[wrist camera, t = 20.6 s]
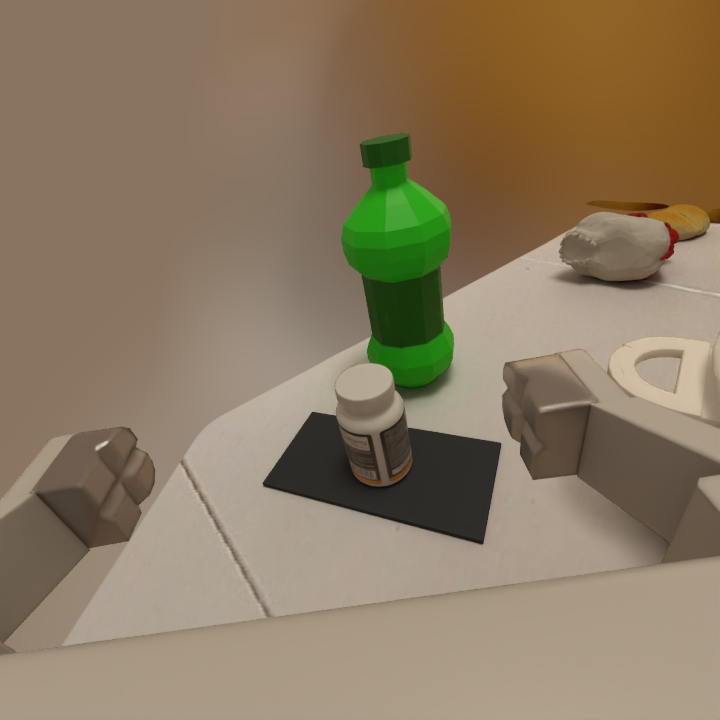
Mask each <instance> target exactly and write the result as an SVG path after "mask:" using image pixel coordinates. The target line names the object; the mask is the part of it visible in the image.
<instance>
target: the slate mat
mask: <svg viewBox="0 0 720 720" xmlns="http://www.w3.org/2000/svg"><path fill="white" fill-rule="evenodd" d="M408 434H409V440H410V445H411V452H412V464H411V467H410V470H409V471H408V473H407V474H406V475H405V476H404V477H403V478H402V479H401V480H399V481H398V482H396V483H394V484H392V485H388V486H381V487H376V486H370V485H367V484H365V483H363V482H361V481H360V480H359V479H357V478H356V476H355V475H354V473H353V471H352V469H351V466H350V462H349V459H348V455H347V452H346V448H345V445H344V441H343V438H342V434H341V431H340V427H339V424H338V421H337V418H336V416H335V415H328V414H322V413H316V412H312V413H311V414H310V416H309V417H308V419H307V420H306V422H305V423H304V424H303V426H302V427H301V429H300V430H299V432H298V433H297V435H296V436H295V437H294V439H293V440H292V442H291V443H290V445H289V446H288V448H287V449H286V450H285V452H284V453H283V455H282V456H281V458H280V459H279V460H278V462H277V463H276V465H275V466H274V468H273V469H272V471H271V472H270V473H269V475H268V476H267V478H266V479H265V481H264V482H263V485H264V486H266V487H270V488H274V489H278V490H281V491H285V492H289V493H293V494H296V495H300V496H304V497H308V498H311V499H315V500H319V501H323V502H327V503H330V504H334V505H338V506H342V507H345V508H349V509H353V510H357V511H360V512H364V513H368V514H372V515H376V516H379V517H383V518H387V519H391V520H394V521H398V522H402V523H406V524H409V525H413V526H417V527H421V528H425V529H428V530H432V531H436V532H440V533H443V534H447V535H451V536H455V537H458V538H462V539H466V540H470V541H473V542H477V543H481V544H483V542H484V536H485V531H486V525H487V520H488V514H489V509H490V504H491V498H492V493H493V487H494V482H495V476H496V471H497V466H498V460H499V455H500V449H501V443H498V442H492V441H486V440H480V439H474V438H468V437H462V436H456V435H450V434H444V433H438V432H432V431H426V430H419V429H413V428H408Z"/></svg>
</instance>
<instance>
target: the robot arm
mask: <svg viewBox="0 0 720 720" xmlns="http://www.w3.org/2000/svg"><path fill="white" fill-rule="evenodd" d="M503 380H504V382H505V383H506V385H507V387H508V389H507V390H506V391H505V393H504V394H503V395H502V408H503V413H504V419H505V423H506V425H507V428H508V431H509V433H510V435H511V437H512V438H513V439H514V440H516V441H518V442H519V443H521V446H520V455H521V457H522V459H523V461H524V463H525V465H526V467H527V469H528V471H529V473H530V475H531V477H532V479H533V480H537V479H545V478H553V477H561V476H569V475H577V474H578V475H577V477H579V478H580V479H581V480H583V481H584V482H586V483H587V484H588V485H590V486H591V487H592V488H594V489H595V490H597V491H598V492H599V493H601V494H602V495H604V496H605V497H606V498H608V499H609V500H611V501H612V502H613V503H615V504H616V505H618V506H619V507H620V508H622V509H623V510H625V511H626V512H627V513H629V514H630V515H631V516H633V517H634V518H636V519H637V520H638V521H640V522H641V523H643V524H644V525H645V526H647V527H648V528H650V529H651V530H652V531H654V532H655V533H657V534H658V535H659V536H661V537H662V538H664V539H665V540H666V541H668V542H669V543H670V545H669V547H668V549H667V552H666V554H665V556H664V559H663V561H662V563H661V564H656V565H649V566H642V567H635V568H627V569H620V570H613V571H605V572H598V573H591V574H584V575H576V576H569V577H562V578H555V579H547V580H540V581H533V582H525V583H518V584H511V585H504V586H496V587H489V588H482V589H475V590H467V591H460V592H453V593H446V594H438V595H431V596H424V597H416V598H409V599H402V600H395V601H387V602H380V603H373V604H366V605H358V606H351V607H344V608H337V609H329V610H322V611H315V612H308V613H300V614H293V615H286V616H279V617H271V618H264V619H257V620H250V621H243V622H235V623H228V624H221V625H214V626H206V627H199V628H192V629H185V630H178V631H170V632H163V633H156V634H149V635H141V636H134V637H127V638H119V639H112V640H105V641H98V642H90V643H83V644H76V645H68V646H61V647H54V648H47V649H40V650H32V651H25V652H16V651H15V650H13V649H12V648H10V647H9V646H7V645H5V644H4V642H5V641H6V640H7V639H8V638H9V637H10V636H11V635H12V633H13V632H14V631H15V630H16V629H17V628H18V627H19V626H20V625H21V624H22V623H23V622H24V620H26V618H27V617H28V616H29V615H30V614H31V613H32V612H33V611H34V610H35V609H36V608H37V607H38V606H39V604H40V603H41V602H42V601H43V600H44V599H45V598H46V597H47V596H48V595H49V594H50V593H51V592H52V590H53V589H54V588H55V587H56V586H57V585H58V584H59V583H60V582H61V581H62V580H63V579H64V578H65V577H66V576H67V574H68V573H69V572H70V571H71V570H72V569H73V568H74V567H75V566H76V565H77V564H78V563H79V561H80V560H81V559H82V558H83V557H84V556H85V555H86V554H87V553H88V552H89V551H90V549H89V548H93V547H99V546H104V545H110V544H115V543H121V542H126V541H129V540H130V538H131V535H132V533H133V531H134V529H135V526H136V524H137V522H138V520H139V518H140V516H141V509H140V507H139V504H141V503H142V502H143V501H144V500H145V499H146V498H147V497H148V496H149V495H150V493H151V490H152V488H153V486H154V483H155V468H154V465H153V461H152V460H151V458H150V457H149V455H148V454H147V453H146V452H144V451H142V450H140V449H138V448H136V444H137V440H138V439H137V437H136V436H135V435H134V433H133V432H132V431H131V429H130V428H126V427H116V428H110V429H102V430H95V431H89V432H81V433H78V434H70V435H64V436H58V437H56V438H53V439H51V440H49V441H48V442H47V444H46V445H45V446H44V448H43V449H42V450H41V451H40V452H39V454H38V455H37V456H36V457H35V458H34V460H33V461H32V462H31V463H30V465H29V466H28V467H27V468H26V470H25V471H24V472H23V473H22V475H21V476H20V477H19V478H18V480H17V481H16V482H15V483H14V484H13V486H12V487H11V488H10V490H9V491H8V492H7V493H6V494H5V496H4V497H3V498H2V499H0V720H720V428H717V427H715V426H712V425H709V424H707V423H704V422H702V421H699V420H697V419H694V418H692V417H689V416H686V415H684V414H681V413H679V412H676V411H674V410H671V409H668V408H666V407H663V406H661V405H658V404H656V403H653V402H650V401H648V400H645V399H643V398H640V397H633V398H630V397H629V396H628V395H627V394H626V393H625V392H624V391H623V390H622V389H621V388H620V387H619V386H618V385H617V384H616V383H615V382H614V381H613V379H612V378H611V377H610V376H609V375H608V374H607V373H606V372H605V371H604V370H603V369H602V368H601V367H600V366H599V365H598V364H597V363H596V361H595V360H594V359H593V358H592V357H591V356H590V355H589V354H588V353H587V352H586V351H585V350H582V349H575V350H570V351H565V352H560V353H555V354H554V355H548V356H542V357H536V358H530V359H524V360H518V361H513V362H507V363H505V365H504V369H503Z"/></svg>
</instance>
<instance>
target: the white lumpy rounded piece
mask: <svg viewBox="0 0 720 720" xmlns="http://www.w3.org/2000/svg"><path fill="white" fill-rule="evenodd" d="M678 241H679V234H678V232H677V231H676V230H675V229H673V228H671V226H670V224H669V223H668V222H664V223H663V222H661V221H658V220H654V219H651V218H648V216H647V215H646V214H644V213H632V214H628V215H620V214H615V213H612V212H599V213H595V214H591V215H590V216H588V217H586V218H585V219H583V220H581V221H580V222H579V224H578V225H577V228H576V229H575V230H571V231H569V232H567V233H566V235H565V237H564V238H563V240H562V242H561V243H560V245H561V246H562V247H561V248H560V250H559V253H560V254H561V255H560V258H563V259H562V262H566V264H567V265H571V266H572V267H573V268H574V269H575V270H576V271H577V272H579V273H581V274H582V275H585V276H593V277H597V278H599V279H602V280H606V281H626V280H638V279H643V280H644V279H648V278H650V277H651V276H652V275H653V274H654V273H655V272H656V271H657V270H658V269H659V268H660V267H661V266H662V264H663V262H664V260H665V259H668V258H669V257H670V256H671V255H672V254H673V253H674V250H673V249H674V244H675V243H677V242H678Z"/></svg>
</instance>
